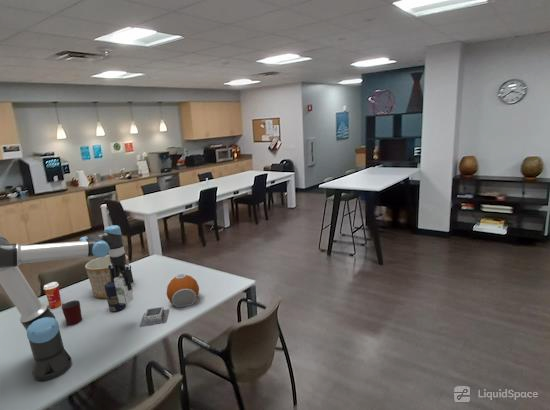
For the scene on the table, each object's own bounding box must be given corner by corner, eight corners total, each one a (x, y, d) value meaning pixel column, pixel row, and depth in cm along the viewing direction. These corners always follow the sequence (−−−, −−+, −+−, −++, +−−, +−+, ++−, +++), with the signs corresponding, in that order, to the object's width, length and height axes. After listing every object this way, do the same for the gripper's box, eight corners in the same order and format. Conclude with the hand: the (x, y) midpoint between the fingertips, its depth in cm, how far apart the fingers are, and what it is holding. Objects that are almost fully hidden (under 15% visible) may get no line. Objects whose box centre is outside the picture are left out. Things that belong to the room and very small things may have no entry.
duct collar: (166, 322, 190) (164, 316, 189) (139, 327, 188) (138, 320, 187) (169, 310, 203) (168, 303, 203) (144, 313, 201) (143, 307, 201)
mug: (58, 323, 198) (54, 306, 196) (72, 315, 206) (68, 298, 204) (72, 327, 194) (68, 309, 191) (86, 318, 201) (82, 301, 199)
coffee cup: (45, 308, 218) (40, 286, 215) (58, 302, 225) (53, 280, 222) (53, 310, 214) (47, 288, 211) (66, 304, 221) (61, 282, 218)
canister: (120, 312, 205) (114, 284, 201) (105, 312, 207) (100, 284, 203) (129, 304, 214) (124, 277, 210) (116, 304, 216) (110, 277, 212)
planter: (103, 304, 217) (97, 272, 212) (84, 295, 233) (77, 264, 228) (141, 287, 237) (135, 257, 232) (121, 279, 252) (115, 251, 248)
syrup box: (134, 299, 191) (129, 274, 188) (126, 304, 185) (121, 279, 182) (125, 298, 193) (121, 274, 189) (118, 303, 187) (113, 278, 184)
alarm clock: (198, 292, 223) (195, 267, 219) (202, 304, 206) (198, 277, 202) (167, 299, 217) (163, 273, 213) (168, 312, 201) (164, 284, 197)
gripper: (136, 253, 183) (143, 293, 188) (109, 251, 190) (116, 290, 195) (126, 258, 176) (133, 300, 181) (98, 256, 183) (106, 296, 188)
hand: (124, 294), depth 188 cm, fingers closed on syrup box, 6 cm apart
